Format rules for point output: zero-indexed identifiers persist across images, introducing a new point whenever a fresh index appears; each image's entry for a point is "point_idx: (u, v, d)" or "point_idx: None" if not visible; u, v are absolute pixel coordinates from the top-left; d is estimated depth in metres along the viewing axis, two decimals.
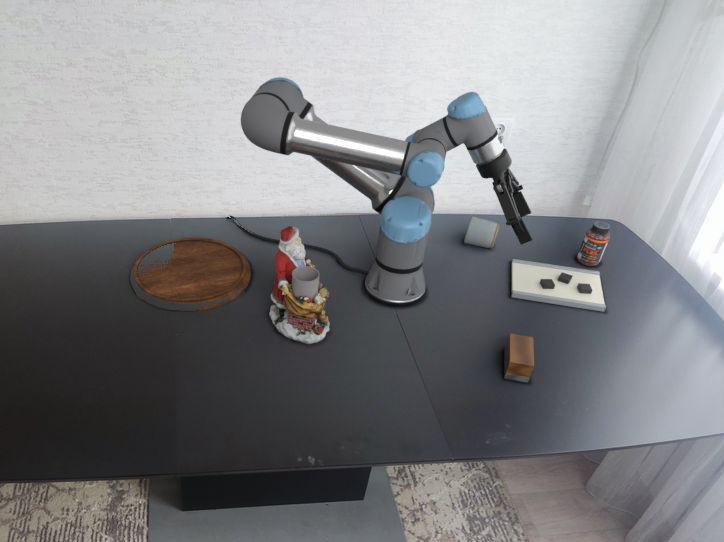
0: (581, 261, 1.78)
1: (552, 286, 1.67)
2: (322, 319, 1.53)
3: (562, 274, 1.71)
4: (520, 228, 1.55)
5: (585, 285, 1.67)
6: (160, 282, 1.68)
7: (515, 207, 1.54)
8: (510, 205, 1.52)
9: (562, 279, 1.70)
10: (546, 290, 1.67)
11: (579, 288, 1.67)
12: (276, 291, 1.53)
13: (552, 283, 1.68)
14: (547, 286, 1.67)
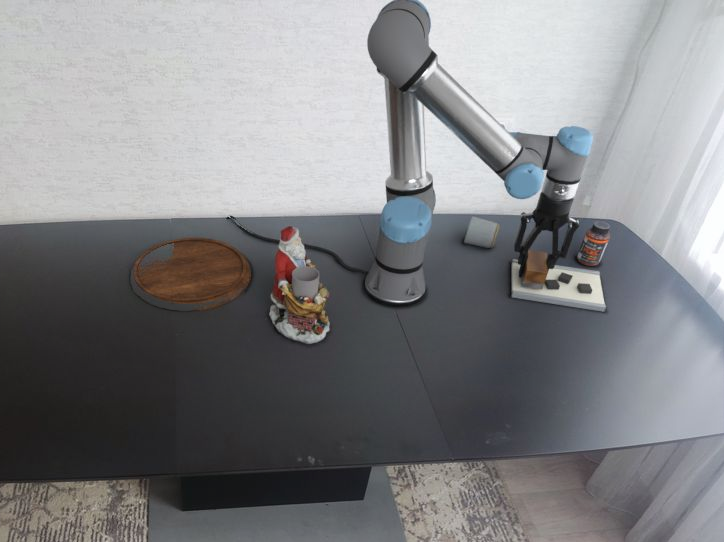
0: (581, 261, 1.78)
1: (557, 287, 1.67)
2: (322, 319, 1.53)
3: (562, 274, 1.71)
4: (518, 259, 1.68)
5: (585, 285, 1.67)
6: (160, 282, 1.68)
7: (526, 244, 1.64)
8: (518, 236, 1.64)
9: (562, 279, 1.70)
10: (546, 290, 1.67)
11: (579, 288, 1.67)
12: (276, 291, 1.53)
13: (557, 284, 1.68)
14: (552, 287, 1.67)
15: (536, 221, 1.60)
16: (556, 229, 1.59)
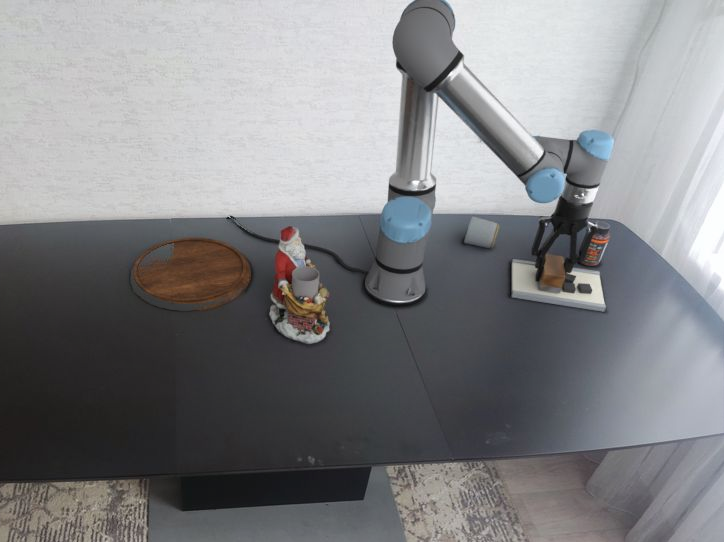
0: None
1: (572, 290, 1.66)
2: (322, 319, 1.53)
3: (566, 274, 1.71)
4: (535, 263, 1.68)
5: (585, 285, 1.67)
6: (160, 282, 1.68)
7: (544, 248, 1.64)
8: (535, 239, 1.63)
9: (566, 280, 1.69)
10: None
11: (579, 288, 1.67)
12: (276, 291, 1.53)
13: (573, 287, 1.66)
14: (567, 289, 1.66)
15: (554, 225, 1.59)
16: (574, 233, 1.59)
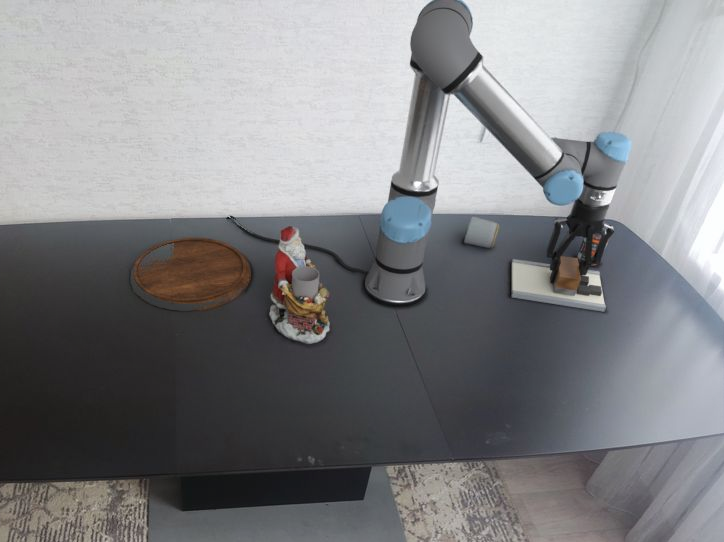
0: None
1: (587, 293, 1.65)
2: (322, 319, 1.53)
3: None
4: (550, 265, 1.67)
5: (595, 287, 1.66)
6: (160, 282, 1.68)
7: (559, 250, 1.63)
8: (551, 242, 1.63)
9: (581, 281, 1.69)
10: (546, 290, 1.67)
11: None
12: (276, 291, 1.53)
13: (588, 290, 1.65)
14: (582, 292, 1.65)
15: (570, 227, 1.59)
16: (590, 235, 1.58)
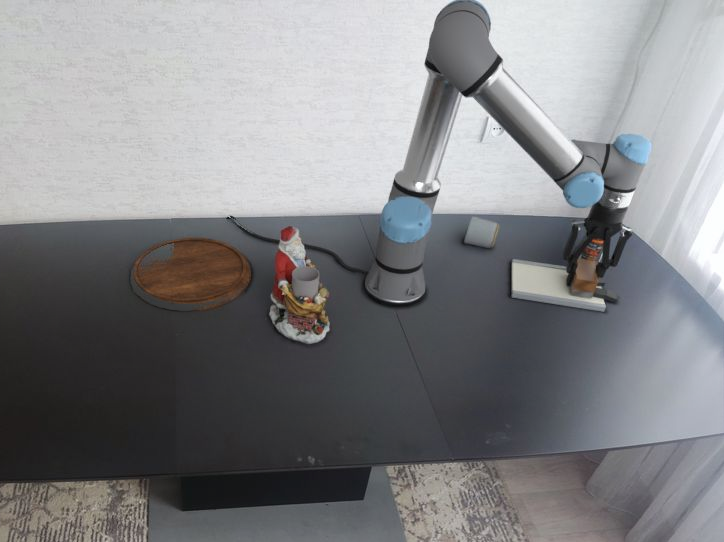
0: None
1: (603, 296, 1.64)
2: (322, 319, 1.53)
3: None
4: (567, 267, 1.66)
5: (612, 293, 1.66)
6: (160, 282, 1.68)
7: (576, 252, 1.62)
8: (568, 244, 1.62)
9: (598, 283, 1.68)
10: (546, 290, 1.67)
11: None
12: (276, 291, 1.53)
13: (604, 293, 1.64)
14: (597, 295, 1.65)
15: (588, 229, 1.58)
16: (608, 238, 1.57)
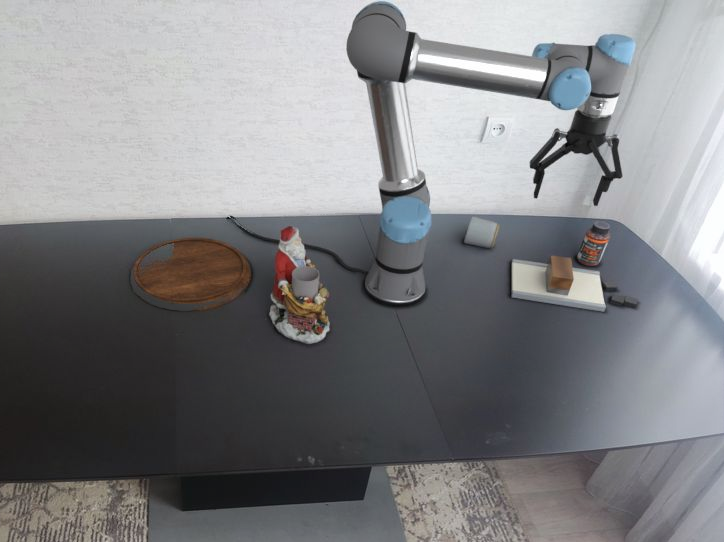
0: (581, 261, 1.78)
1: (619, 303, 1.64)
2: (322, 319, 1.53)
3: (605, 283, 1.70)
4: (534, 177, 1.57)
5: (631, 299, 1.64)
6: (160, 282, 1.68)
7: (547, 161, 1.53)
8: (541, 152, 1.53)
9: (610, 288, 1.68)
10: (546, 290, 1.67)
11: (624, 300, 1.65)
12: (276, 291, 1.53)
13: (621, 300, 1.64)
14: (614, 301, 1.64)
15: (570, 143, 1.49)
16: (591, 151, 1.49)
